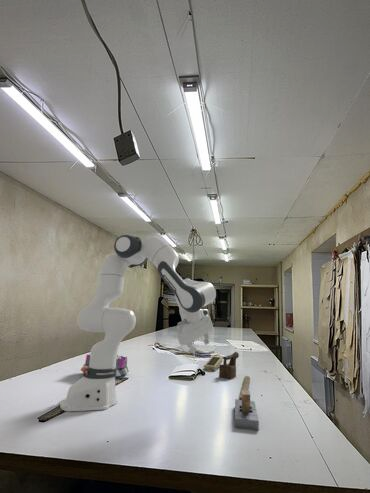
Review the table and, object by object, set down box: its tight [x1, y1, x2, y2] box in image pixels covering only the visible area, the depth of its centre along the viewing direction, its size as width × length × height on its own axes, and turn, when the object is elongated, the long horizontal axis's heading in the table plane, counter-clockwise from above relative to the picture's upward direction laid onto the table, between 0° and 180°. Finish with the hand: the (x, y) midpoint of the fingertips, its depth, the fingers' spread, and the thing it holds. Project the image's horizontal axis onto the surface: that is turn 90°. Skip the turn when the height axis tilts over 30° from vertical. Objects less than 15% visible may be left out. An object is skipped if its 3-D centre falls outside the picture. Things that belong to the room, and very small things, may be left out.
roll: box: [238, 375, 251, 400], centre depth 151 cm, size 4×43×3 cm, turn 166°
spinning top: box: [82, 353, 130, 377], centre depth 170 cm, size 27×28×15 cm
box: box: [203, 355, 224, 373], centre depth 199 cm, size 8×22×5 cm, turn 160°
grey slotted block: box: [234, 399, 260, 431], centre depth 115 cm, size 8×22×3 cm, turn 171°
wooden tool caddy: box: [218, 351, 240, 380], centre depth 181 cm, size 8×16×13 cm, turn 143°
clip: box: [242, 390, 251, 413], centre depth 116 cm, size 3×6×9 cm, turn 171°
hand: (200, 348), depth 127 cm, fingers open, 8 cm apart
